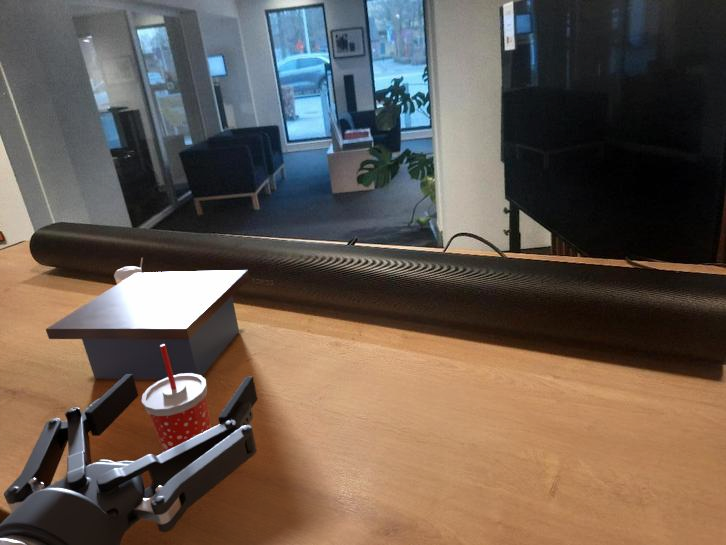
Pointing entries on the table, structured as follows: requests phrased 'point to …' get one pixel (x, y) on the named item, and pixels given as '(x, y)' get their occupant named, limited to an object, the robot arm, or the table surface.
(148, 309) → the board
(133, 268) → the milkshake
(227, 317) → the blue box
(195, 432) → the beverage cup
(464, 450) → the table surface
